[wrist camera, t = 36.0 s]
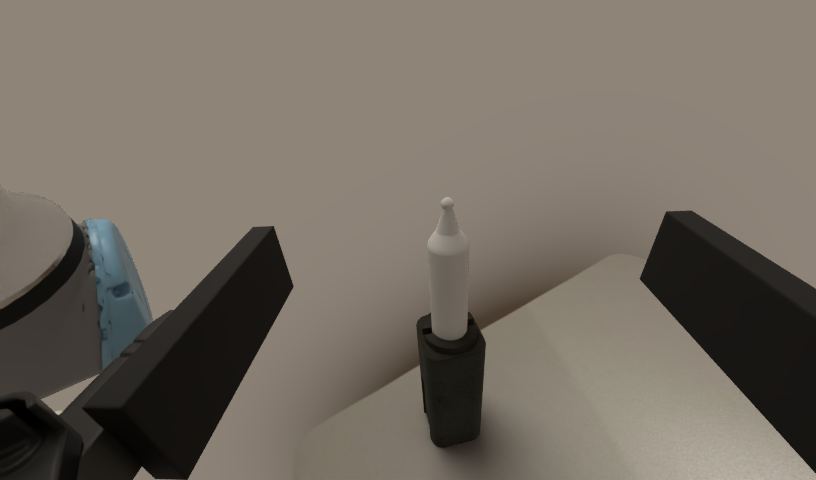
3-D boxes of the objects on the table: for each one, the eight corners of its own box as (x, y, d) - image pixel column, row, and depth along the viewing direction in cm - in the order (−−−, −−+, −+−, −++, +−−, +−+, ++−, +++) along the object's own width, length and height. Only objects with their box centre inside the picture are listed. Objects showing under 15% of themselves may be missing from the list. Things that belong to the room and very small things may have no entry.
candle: (421, 401, 35) (401, 189, 22) (465, 391, 36) (470, 179, 23) (433, 450, 31) (417, 221, 18) (483, 437, 31) (501, 207, 19)
